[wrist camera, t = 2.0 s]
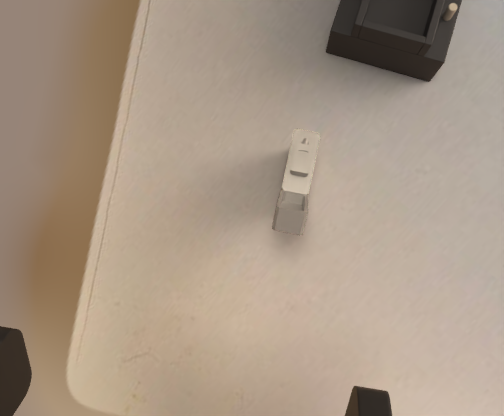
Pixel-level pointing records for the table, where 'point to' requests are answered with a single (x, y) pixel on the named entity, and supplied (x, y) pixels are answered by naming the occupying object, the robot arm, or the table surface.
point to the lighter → (296, 183)
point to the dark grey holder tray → (395, 34)
